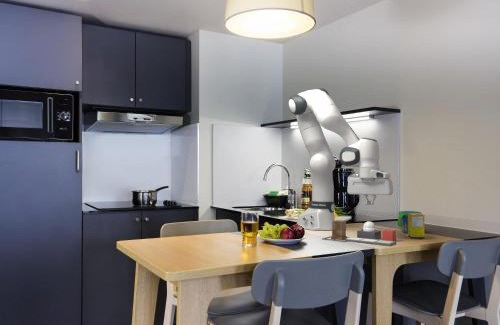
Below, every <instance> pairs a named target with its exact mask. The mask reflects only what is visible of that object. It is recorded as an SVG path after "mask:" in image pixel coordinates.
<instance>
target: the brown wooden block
mask: <svg viewBox="0 0 500 325" xmlns="http://www.w3.org/2000/svg"><path fill="white" fill-rule="evenodd" d="M330 236H331V237H330V239H332V240H341V241H345V239H347V237H348V236H347V221H346V220H338V219H337V220H336V219H335V221H332V230H331V235H330Z"/></svg>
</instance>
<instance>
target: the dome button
mask: <svg viewBox="0 0 500 325" xmlns="http://www.w3.org/2000/svg"><path fill="white" fill-rule="evenodd" d="M362 229H363V231H368V232H375V230H376V225H375V223H374V222H373V221H370V220H369V221H366V222H364V223H363V227H362Z"/></svg>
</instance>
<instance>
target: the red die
mask: <svg viewBox="0 0 500 325" xmlns="http://www.w3.org/2000/svg"><path fill="white" fill-rule="evenodd" d="M381 240H385V241H395V240H396V241H397V231H396V229H388V228H385V229H382V230H381ZM396 241H395V242H396Z"/></svg>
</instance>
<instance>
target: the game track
mask: <svg viewBox="0 0 500 325" xmlns="http://www.w3.org/2000/svg"><path fill="white" fill-rule="evenodd" d="M344 241H347V242H350V243H358V244H368V245H375V246H376V245H377V246H383V247H384V246H385V247H391V246H393V245H396V244H397V241H385V240H382V239H377V240H375V239H366V238H357V236H356V237H355V236H350V238H347V239H345V240H344Z"/></svg>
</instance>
